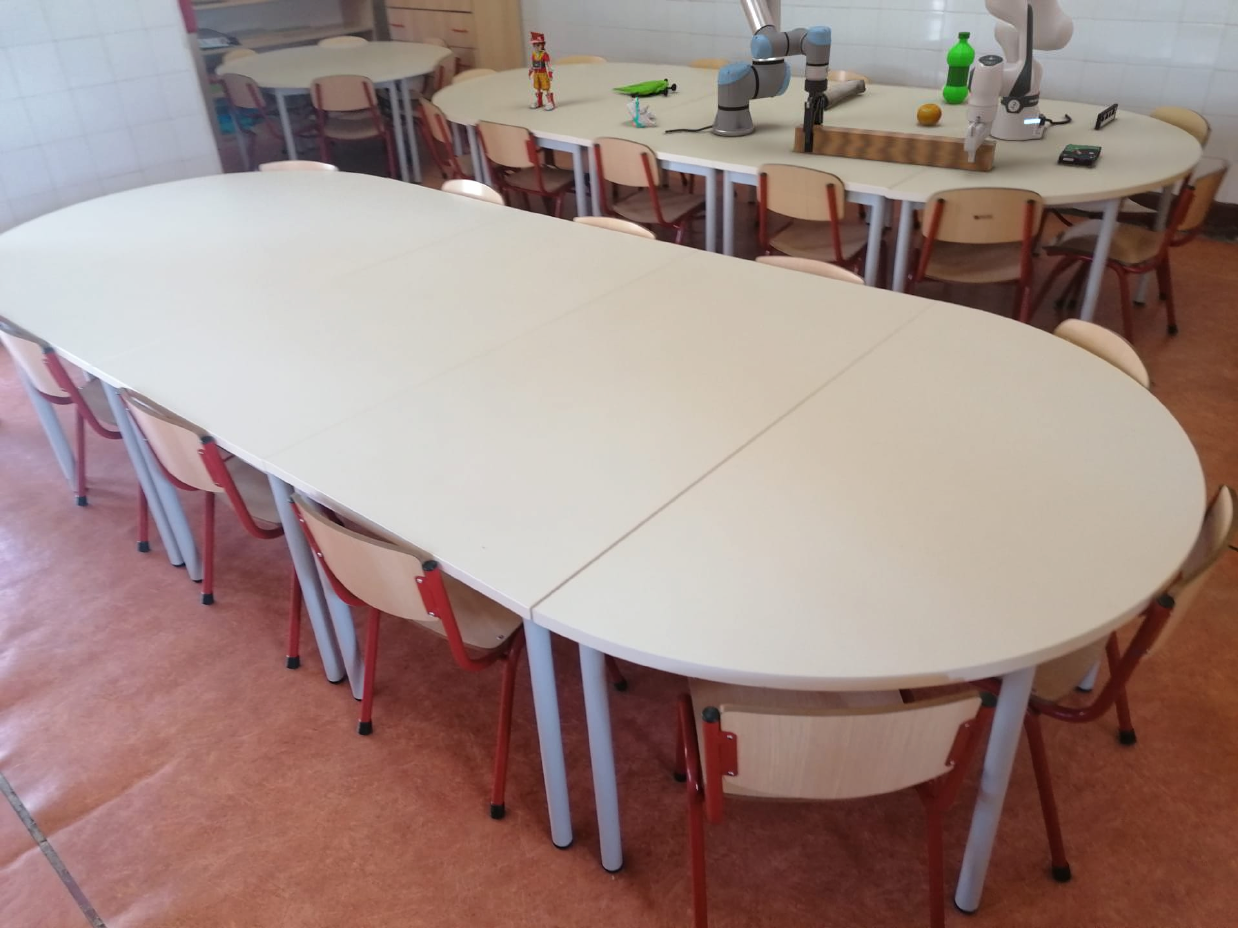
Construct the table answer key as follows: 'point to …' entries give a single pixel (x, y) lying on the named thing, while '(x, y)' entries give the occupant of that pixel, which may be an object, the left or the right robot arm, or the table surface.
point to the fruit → (929, 114)
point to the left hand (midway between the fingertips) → (811, 149)
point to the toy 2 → (648, 88)
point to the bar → (896, 147)
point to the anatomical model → (640, 114)
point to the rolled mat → (843, 91)
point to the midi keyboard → (1106, 116)
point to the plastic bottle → (958, 69)
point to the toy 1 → (541, 71)
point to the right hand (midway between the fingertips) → (973, 158)
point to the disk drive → (1079, 155)
